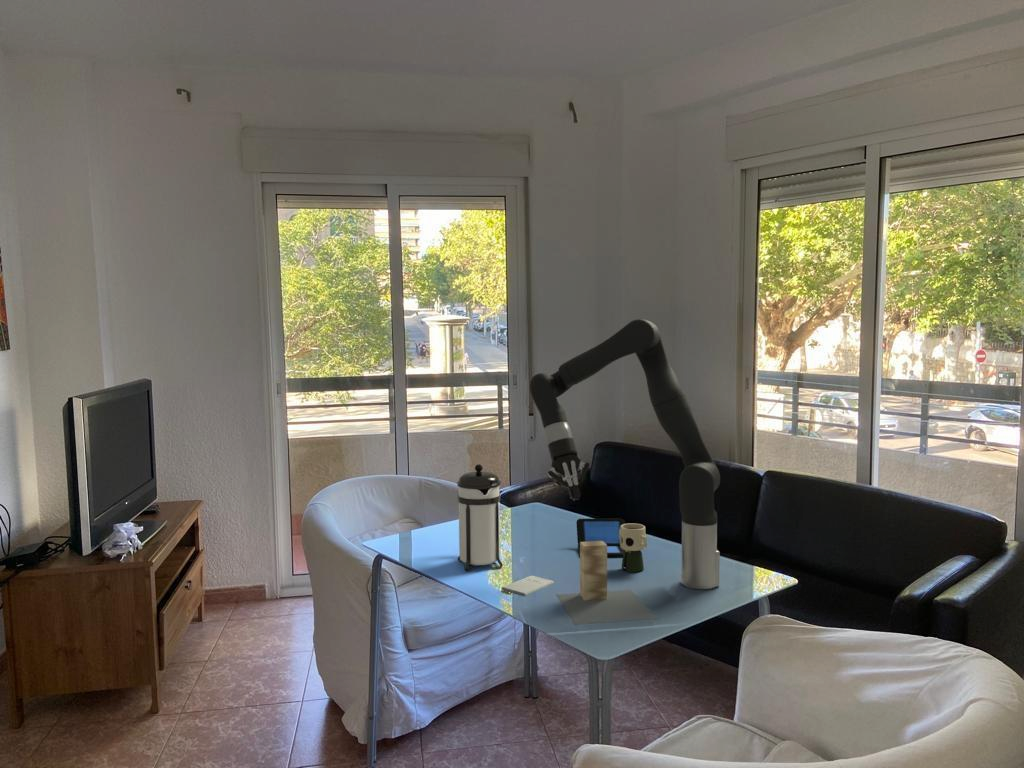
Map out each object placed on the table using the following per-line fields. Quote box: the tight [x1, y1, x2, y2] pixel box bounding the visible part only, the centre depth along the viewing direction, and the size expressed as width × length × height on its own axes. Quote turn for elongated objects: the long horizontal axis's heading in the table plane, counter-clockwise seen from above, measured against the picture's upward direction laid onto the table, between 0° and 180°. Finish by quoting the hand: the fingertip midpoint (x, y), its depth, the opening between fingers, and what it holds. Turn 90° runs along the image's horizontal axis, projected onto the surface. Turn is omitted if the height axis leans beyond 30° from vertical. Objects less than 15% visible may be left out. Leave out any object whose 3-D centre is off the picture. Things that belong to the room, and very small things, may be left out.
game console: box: [575, 517, 626, 559], centre depth 231 cm, size 16×14×9 cm
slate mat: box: [556, 589, 658, 625], centre depth 184 cm, size 20×20×1 cm
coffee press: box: [456, 463, 504, 572], centre depth 219 cm, size 17×16×30 cm
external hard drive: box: [501, 575, 555, 596], centre depth 199 cm, size 2×8×12 cm
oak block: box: [579, 541, 608, 600], centre depth 190 cm, size 6×4×14 cm
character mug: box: [619, 523, 648, 573], centre depth 212 cm, size 11×7×13 cm, turn 35°
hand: (576, 499), depth 206 cm, fingers closed
